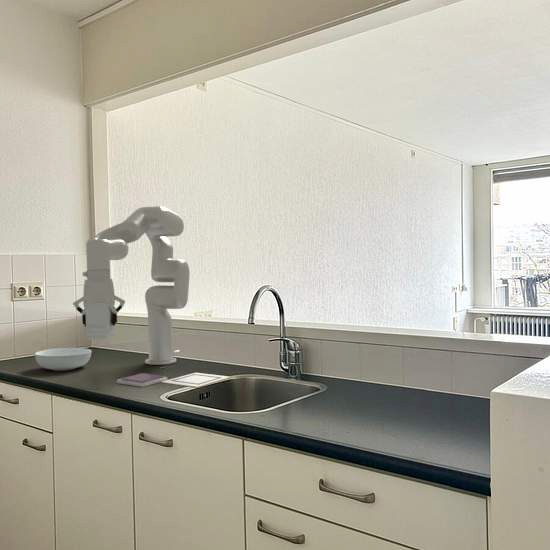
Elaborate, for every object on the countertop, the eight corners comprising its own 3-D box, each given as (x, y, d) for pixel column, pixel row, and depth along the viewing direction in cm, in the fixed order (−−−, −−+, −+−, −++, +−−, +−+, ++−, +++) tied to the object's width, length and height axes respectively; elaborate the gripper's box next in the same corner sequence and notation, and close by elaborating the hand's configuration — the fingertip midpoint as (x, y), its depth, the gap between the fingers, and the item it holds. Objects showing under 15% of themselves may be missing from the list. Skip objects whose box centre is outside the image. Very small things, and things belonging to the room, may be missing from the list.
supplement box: (115, 336, 199) (114, 300, 199) (106, 339, 192) (105, 302, 191) (94, 336, 200) (93, 300, 199) (85, 339, 192) (84, 302, 192)
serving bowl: (73, 374, 212) (73, 356, 212) (23, 373, 217) (23, 355, 216) (101, 364, 233) (101, 347, 233) (55, 363, 237) (54, 347, 237)
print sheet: (195, 373, 211) (195, 372, 211) (230, 377, 202) (230, 376, 202) (161, 382, 195) (161, 381, 195) (197, 387, 187) (197, 386, 187)
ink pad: (142, 376, 206) (142, 372, 206) (167, 380, 199) (167, 375, 199) (117, 383, 196) (116, 378, 196) (142, 386, 189) (142, 382, 189)
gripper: (70, 276, 189) (71, 328, 190) (124, 274, 193) (125, 325, 194) (73, 275, 197) (74, 325, 197) (125, 274, 200) (126, 323, 201)
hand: (100, 325), depth 196 cm, fingers closed on supplement box, 8 cm apart
